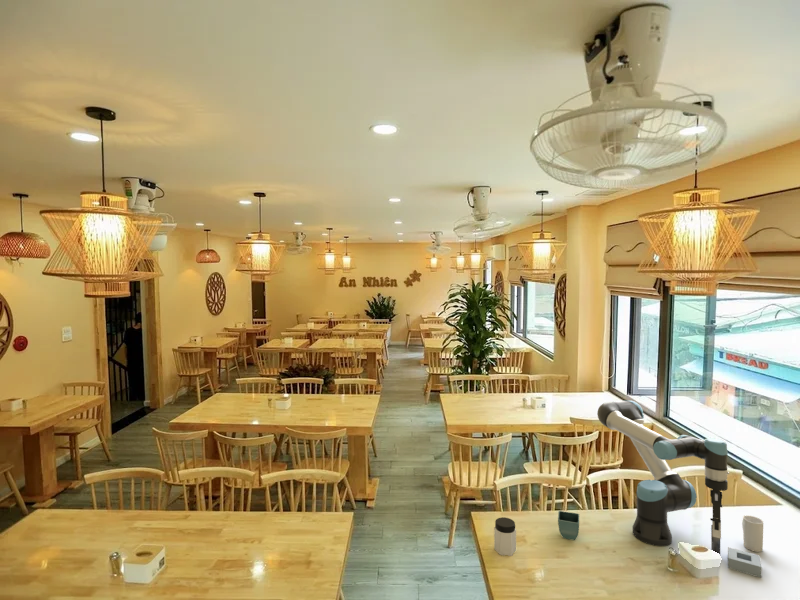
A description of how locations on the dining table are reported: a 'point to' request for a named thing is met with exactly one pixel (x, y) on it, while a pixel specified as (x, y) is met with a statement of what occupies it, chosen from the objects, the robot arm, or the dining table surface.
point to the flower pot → (568, 524)
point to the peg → (715, 543)
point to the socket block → (744, 562)
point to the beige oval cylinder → (753, 533)
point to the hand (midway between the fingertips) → (716, 529)
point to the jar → (505, 536)
